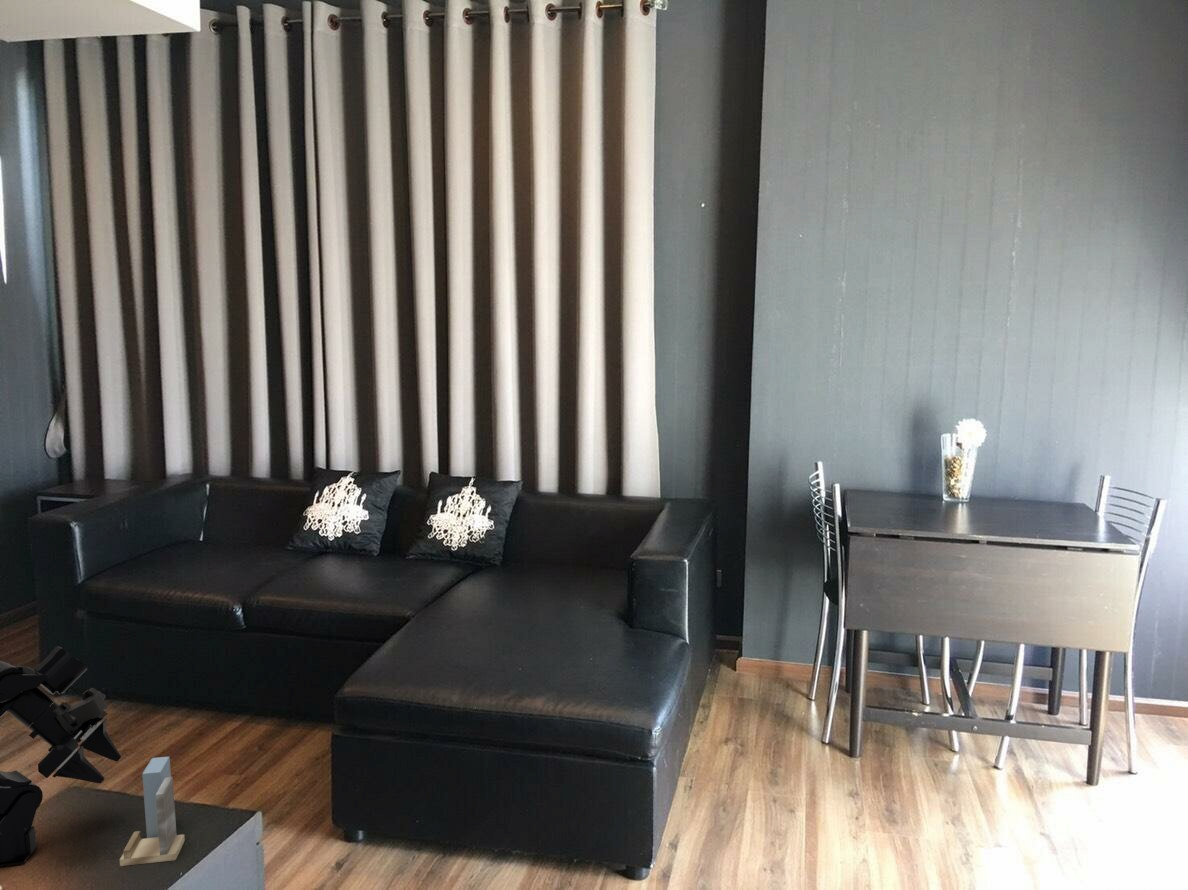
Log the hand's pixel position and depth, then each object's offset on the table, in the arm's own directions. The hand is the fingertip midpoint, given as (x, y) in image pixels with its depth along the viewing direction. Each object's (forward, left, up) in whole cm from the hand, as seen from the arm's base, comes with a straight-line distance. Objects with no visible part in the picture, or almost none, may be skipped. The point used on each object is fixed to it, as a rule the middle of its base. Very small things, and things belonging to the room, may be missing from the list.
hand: (111, 770), depth 170 cm
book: (+8, 0, -13) cm, 15 cm away
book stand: (+8, -7, -13) cm, 17 cm away
